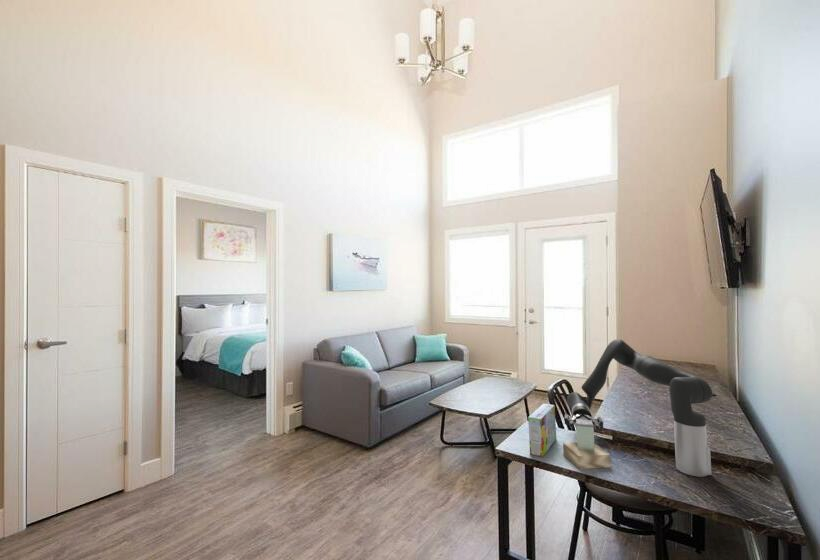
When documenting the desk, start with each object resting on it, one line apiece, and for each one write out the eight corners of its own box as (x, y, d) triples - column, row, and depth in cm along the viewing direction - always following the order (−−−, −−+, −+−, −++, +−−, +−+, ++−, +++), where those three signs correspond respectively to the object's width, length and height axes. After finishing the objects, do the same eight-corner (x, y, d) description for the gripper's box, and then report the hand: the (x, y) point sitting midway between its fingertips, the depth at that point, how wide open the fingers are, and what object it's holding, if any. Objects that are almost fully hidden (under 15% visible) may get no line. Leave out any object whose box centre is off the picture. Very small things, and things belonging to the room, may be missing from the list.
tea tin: (576, 444, 145) (575, 418, 145) (592, 446, 143) (591, 420, 143) (578, 450, 139) (577, 423, 140) (594, 452, 137) (593, 425, 138)
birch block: (592, 453, 147) (591, 441, 147) (610, 468, 135) (610, 454, 135) (563, 455, 146) (563, 442, 147) (579, 469, 134) (578, 456, 135)
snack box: (543, 436, 164) (542, 402, 165) (557, 439, 161) (555, 404, 162) (528, 454, 147) (527, 416, 148) (542, 457, 144) (541, 418, 144)
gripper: (563, 403, 161) (564, 415, 146) (599, 406, 156) (604, 419, 141) (563, 421, 161) (565, 434, 146) (600, 424, 156) (605, 439, 141)
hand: (584, 427), depth 143 cm, fingers open, 8 cm apart
